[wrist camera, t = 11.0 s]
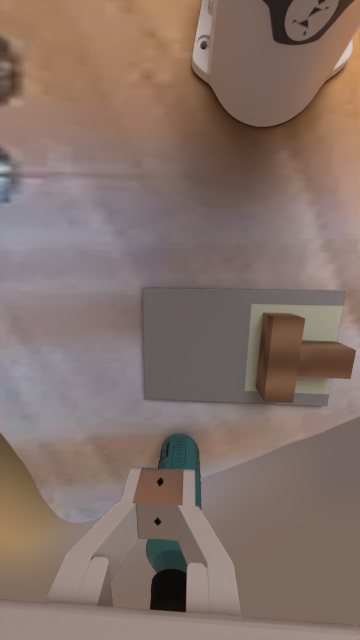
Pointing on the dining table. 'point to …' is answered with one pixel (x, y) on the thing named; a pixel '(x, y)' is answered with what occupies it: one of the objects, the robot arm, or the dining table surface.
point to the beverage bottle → (168, 553)
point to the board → (226, 341)
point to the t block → (295, 357)
